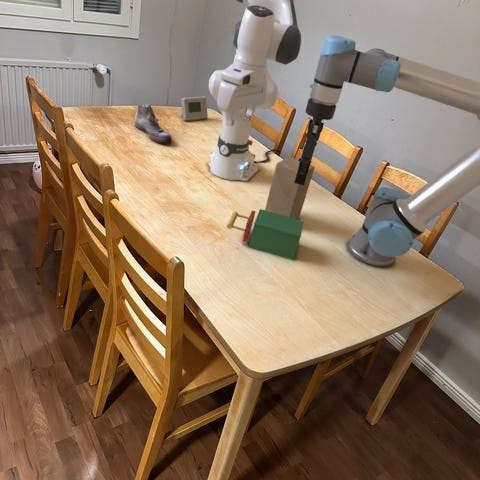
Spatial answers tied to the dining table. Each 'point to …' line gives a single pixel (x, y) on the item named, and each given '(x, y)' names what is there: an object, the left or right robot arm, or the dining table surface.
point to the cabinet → (276, 234)
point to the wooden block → (287, 189)
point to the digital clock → (194, 108)
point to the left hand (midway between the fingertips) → (238, 123)
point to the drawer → (248, 225)
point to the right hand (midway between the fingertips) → (301, 174)
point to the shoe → (151, 124)
